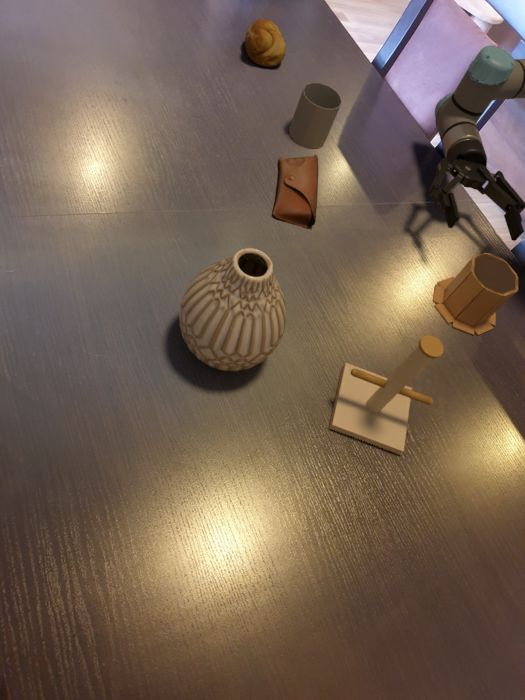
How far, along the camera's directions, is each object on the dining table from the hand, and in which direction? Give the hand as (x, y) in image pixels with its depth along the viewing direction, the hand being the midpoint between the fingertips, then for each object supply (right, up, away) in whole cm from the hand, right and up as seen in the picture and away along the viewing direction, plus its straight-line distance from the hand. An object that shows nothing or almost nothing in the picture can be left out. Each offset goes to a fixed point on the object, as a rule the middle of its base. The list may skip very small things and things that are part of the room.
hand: (486, 229), depth 105 cm
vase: (-48, -21, -15) cm, 55 cm away
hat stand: (-24, -32, -14) cm, 43 cm away
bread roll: (-42, +49, +31) cm, 71 cm away
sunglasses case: (-35, +9, +8) cm, 37 cm away
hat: (-3, -14, +4) cm, 15 cm away
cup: (-32, +25, +19) cm, 45 cm away
